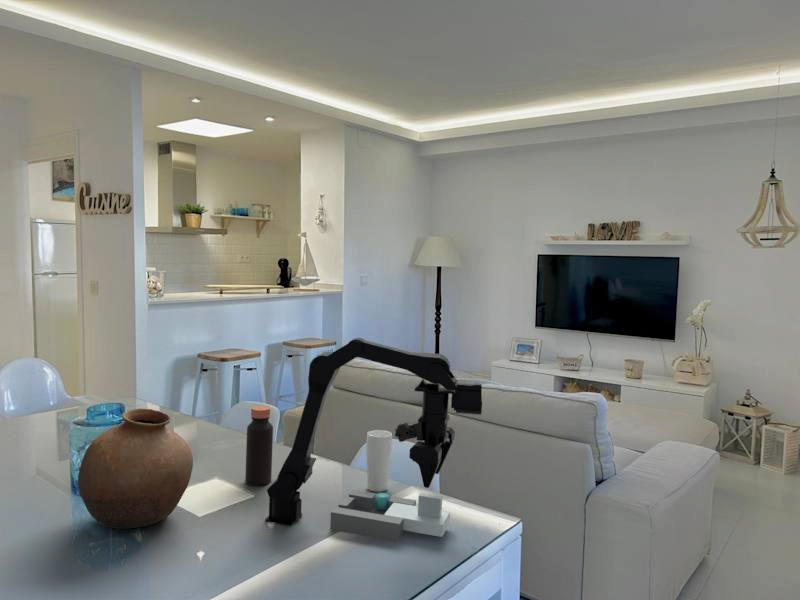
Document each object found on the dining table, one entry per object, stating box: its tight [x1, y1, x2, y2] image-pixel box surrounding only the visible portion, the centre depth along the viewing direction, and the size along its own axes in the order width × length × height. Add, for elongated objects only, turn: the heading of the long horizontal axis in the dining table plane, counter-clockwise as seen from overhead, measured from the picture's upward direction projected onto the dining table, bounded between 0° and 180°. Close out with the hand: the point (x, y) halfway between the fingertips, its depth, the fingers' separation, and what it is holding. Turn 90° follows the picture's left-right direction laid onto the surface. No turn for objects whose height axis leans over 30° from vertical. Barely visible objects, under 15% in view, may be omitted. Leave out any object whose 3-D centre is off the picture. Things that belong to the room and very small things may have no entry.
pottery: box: [77, 408, 194, 530], centre depth 130 cm, size 23×23×25 cm
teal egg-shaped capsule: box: [375, 492, 391, 510], centre depth 142 cm, size 3×3×3 cm
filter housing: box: [329, 489, 417, 543], centre depth 136 cm, size 16×14×4 cm
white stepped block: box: [384, 492, 451, 538], centre depth 133 cm, size 14×7×7 cm, turn 74°
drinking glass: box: [365, 429, 393, 493], centre depth 157 cm, size 7×7×15 cm
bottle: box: [244, 405, 274, 487], centre depth 158 cm, size 7×7×20 cm
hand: (431, 480), depth 132 cm, fingers open, 9 cm apart
